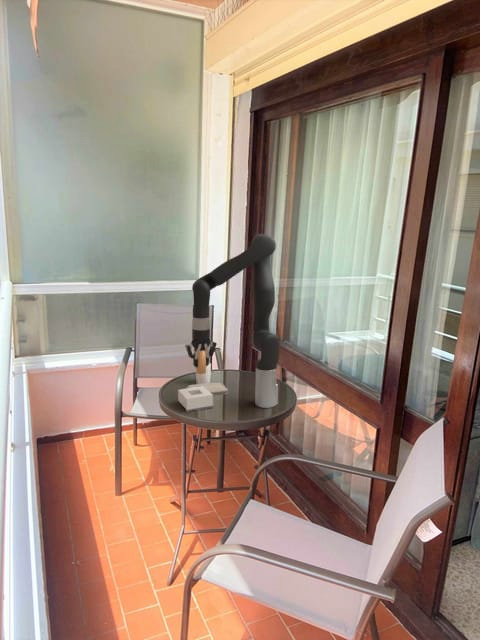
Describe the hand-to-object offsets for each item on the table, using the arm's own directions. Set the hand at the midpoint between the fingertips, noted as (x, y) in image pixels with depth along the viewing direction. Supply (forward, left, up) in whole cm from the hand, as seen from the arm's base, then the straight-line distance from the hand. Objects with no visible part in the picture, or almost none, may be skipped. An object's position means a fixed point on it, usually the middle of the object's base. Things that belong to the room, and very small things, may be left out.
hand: (201, 366), depth 207 cm
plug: (0, 0, -3) cm, 3 cm away
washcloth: (-10, -18, -20) cm, 29 cm away
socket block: (+1, -5, -20) cm, 20 cm away
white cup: (-12, -31, -20) cm, 38 cm away
